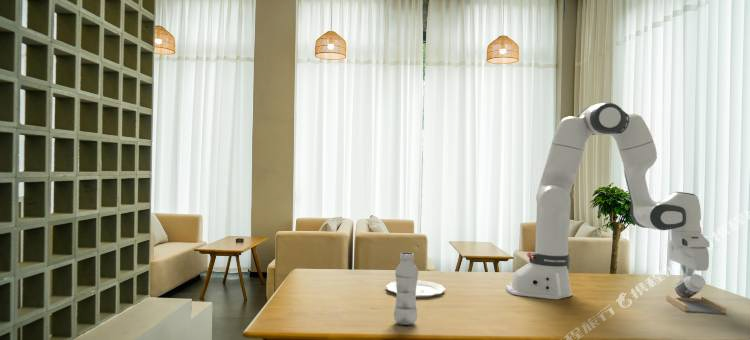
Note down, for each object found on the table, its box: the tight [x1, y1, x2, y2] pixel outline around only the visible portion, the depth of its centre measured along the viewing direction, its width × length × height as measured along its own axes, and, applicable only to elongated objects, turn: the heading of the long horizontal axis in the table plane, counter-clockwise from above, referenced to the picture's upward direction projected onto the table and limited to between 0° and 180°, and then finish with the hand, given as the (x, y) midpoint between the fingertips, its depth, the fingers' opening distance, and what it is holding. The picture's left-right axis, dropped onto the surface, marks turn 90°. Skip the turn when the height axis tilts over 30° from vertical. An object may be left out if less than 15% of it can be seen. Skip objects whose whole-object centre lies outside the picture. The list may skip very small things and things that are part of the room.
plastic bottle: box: [393, 251, 419, 326], centre depth 135 cm, size 6×7×20 cm
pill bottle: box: [674, 273, 706, 298], centre depth 162 cm, size 6×6×10 cm
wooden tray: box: [665, 294, 727, 315], centre depth 157 cm, size 12×14×2 cm
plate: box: [385, 279, 446, 298], centre depth 170 cm, size 21×21×2 cm
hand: (687, 278), depth 165 cm, fingers closed
